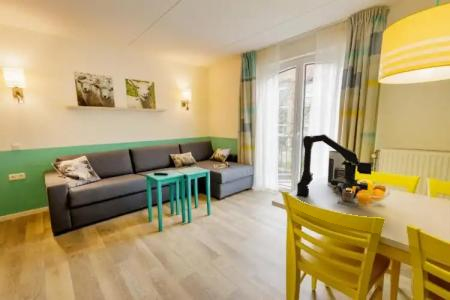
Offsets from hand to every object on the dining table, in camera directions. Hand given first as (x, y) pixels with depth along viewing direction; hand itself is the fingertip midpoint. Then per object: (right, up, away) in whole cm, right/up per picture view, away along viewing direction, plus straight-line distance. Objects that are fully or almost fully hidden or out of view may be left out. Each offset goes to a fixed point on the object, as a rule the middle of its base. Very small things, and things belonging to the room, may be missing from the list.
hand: (347, 197), depth 128 cm
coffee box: (+5, 0, +18) cm, 19 cm away
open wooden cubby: (0, -1, 0) cm, 1 cm away
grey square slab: (0, -3, 0) cm, 3 cm away
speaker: (+9, +2, +32) cm, 33 cm away
